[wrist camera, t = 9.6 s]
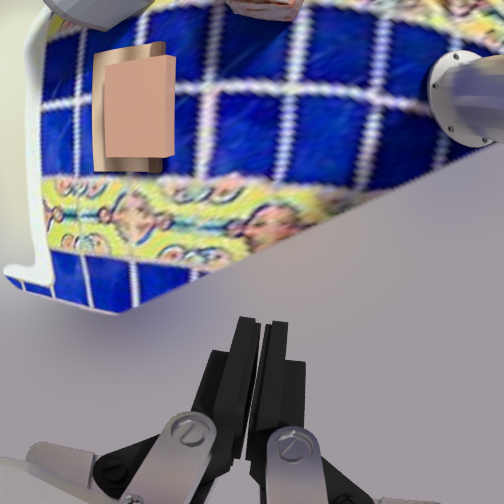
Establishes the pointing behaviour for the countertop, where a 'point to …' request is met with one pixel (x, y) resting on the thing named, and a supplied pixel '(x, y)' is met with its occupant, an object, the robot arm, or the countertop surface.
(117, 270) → the countertop surface
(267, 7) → the food item
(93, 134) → the tan flat rectangular panel
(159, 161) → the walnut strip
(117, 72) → the tile
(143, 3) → the alarm clock
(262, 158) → the countertop surface
